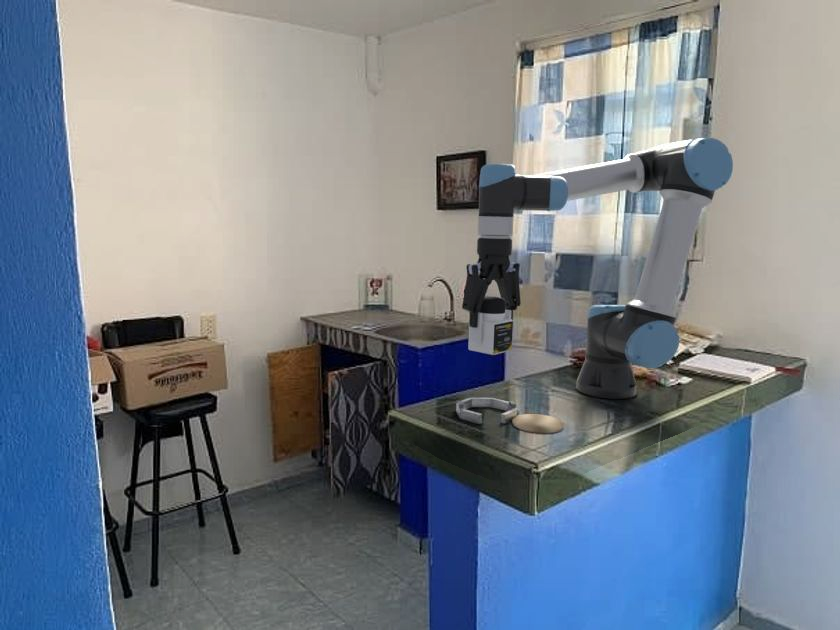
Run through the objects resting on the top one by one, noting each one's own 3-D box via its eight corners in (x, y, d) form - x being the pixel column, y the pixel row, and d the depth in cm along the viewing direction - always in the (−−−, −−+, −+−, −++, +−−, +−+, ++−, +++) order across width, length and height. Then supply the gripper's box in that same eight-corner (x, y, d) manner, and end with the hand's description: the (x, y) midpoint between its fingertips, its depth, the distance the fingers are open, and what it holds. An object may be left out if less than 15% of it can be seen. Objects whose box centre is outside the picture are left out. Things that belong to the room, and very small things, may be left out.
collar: (507, 405, 149) (507, 394, 148) (521, 423, 136) (521, 411, 136) (453, 405, 147) (453, 394, 147) (462, 423, 135) (463, 411, 134)
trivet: (554, 416, 142) (554, 413, 142) (570, 433, 131) (570, 430, 131) (507, 416, 141) (507, 414, 140) (519, 433, 130) (519, 430, 130)
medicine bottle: (493, 355, 134) (495, 300, 132) (467, 350, 139) (469, 296, 137) (512, 350, 139) (514, 297, 138) (486, 345, 144) (488, 294, 142)
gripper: (517, 236, 144) (512, 332, 148) (446, 236, 132) (443, 341, 136) (541, 237, 138) (535, 338, 142) (469, 238, 126) (465, 348, 130)
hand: (490, 339), depth 139 cm, fingers closed on medicine bottle, 8 cm apart
